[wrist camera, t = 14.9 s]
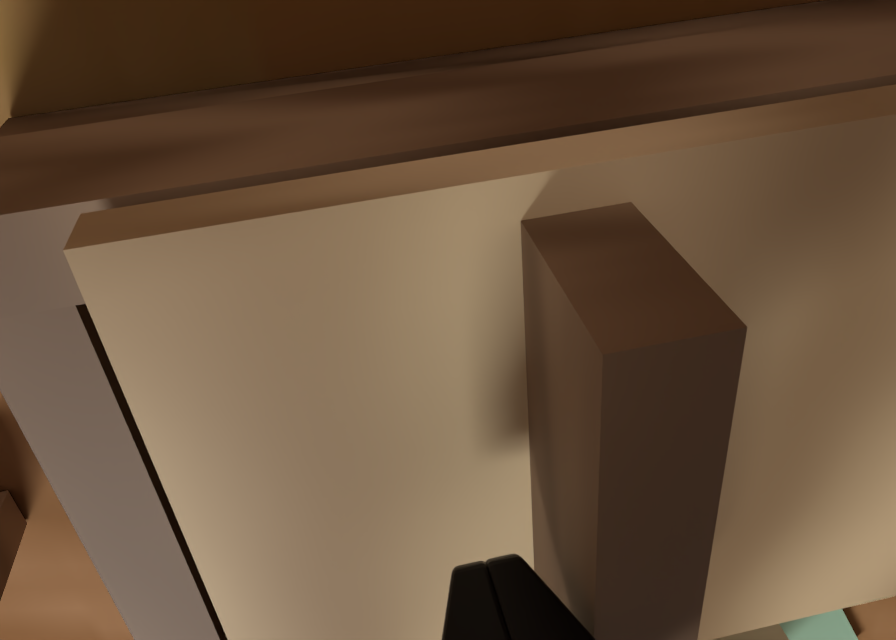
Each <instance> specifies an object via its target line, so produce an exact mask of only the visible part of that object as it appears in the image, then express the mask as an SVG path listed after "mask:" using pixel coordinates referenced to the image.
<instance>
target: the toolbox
mask: <svg viewBox="0 0 896 640" xmlns="http://www.w3.org/2000/svg"><path fill="white" fill-rule="evenodd" d="M895 84H896V0H825V1H818V2H812V3H805V4H798V5H791V6H784V7H777V8H770V9H763V10H756V11H749V12H742V13H735V14H728V15H721V16H714V17H708V18H701V19H694V20H687V21H680V22H673V23H666V24H659V25H652V26H645V27H638V28H631V29H624V30H617V31H611V32H604V33H597V34H590V35H583V36H576V37H569V38H562V39H555V40H548V41H541V42H534V43H527V44H520V45H514V46H507V47H500V48H493V49H486V50H479V51H472V52H465V53H458V54H451V55H444V56H437V57H430V58H423V59H416V60H410V61H403V62H396V63H389V64H382V65H375V66H368V67H361V68H354V69H347V70H340V71H333V72H326V73H319V74H313V75H306V76H299V77H292V78H285V79H278V80H271V81H264V82H257V83H250V84H243V85H236V86H229V87H222V88H216V89H209V90H202V91H195V92H188V93H181V94H174V95H167V96H160V97H153V98H146V99H139V100H132V101H125V102H119V103H112V104H105V105H98V106H91V107H84V108H77V109H70V110H63V111H56V112H49V113H42V114H35V115H28V116H21V117H15V118H8V120H7V121H6V122H5V123H4V124H3V125H2V126H1V128H0V391H1V393H2V395H3V397H4V399H5V401H6V402H7V404H8V406H9V408H10V410H11V412H12V414H13V415H14V417H15V419H16V421H17V423H18V425H19V427H20V428H21V430H22V432H23V434H24V436H25V438H26V440H27V441H28V443H29V445H30V447H31V449H32V451H33V453H34V454H35V456H36V458H37V460H38V462H39V464H40V466H41V467H42V469H43V471H44V473H45V475H46V477H47V479H48V480H49V482H50V484H51V486H52V488H53V490H54V492H55V493H56V495H57V497H58V499H59V501H60V503H61V504H62V506H63V508H64V510H65V512H66V514H67V516H68V517H69V519H70V521H71V523H72V525H73V527H74V529H75V530H76V532H77V534H78V536H79V538H80V540H81V542H82V543H83V545H84V547H85V549H86V551H87V553H88V555H89V556H90V558H91V560H92V562H93V564H94V566H95V568H96V569H97V571H98V573H99V575H100V577H101V579H102V581H103V582H104V584H105V586H106V588H107V590H108V592H109V594H110V595H111V597H112V599H113V601H114V603H115V605H116V607H117V608H118V610H119V612H120V614H121V616H122V618H123V620H124V621H125V623H126V625H127V627H128V629H129V631H130V633H131V634H132V636H133V638H134V640H228V639H227V637H226V634H225V632H224V630H223V627H222V625H221V623H220V620H219V618H218V616H217V613H216V611H215V608H214V606H213V604H212V601H211V599H210V597H209V594H208V592H207V590H206V587H205V585H204V582H203V580H202V578H201V575H200V573H199V571H198V568H197V566H196V564H195V561H194V559H193V556H192V554H191V552H190V549H189V547H188V545H187V542H186V540H185V538H184V535H183V533H182V530H181V528H180V526H179V523H178V521H177V519H176V516H175V514H174V512H173V509H172V507H171V504H170V502H169V500H168V497H167V495H166V493H165V490H164V488H163V486H162V483H161V481H160V478H159V476H158V474H157V471H156V469H155V467H154V464H153V462H152V459H151V457H150V455H149V452H148V450H147V448H146V445H145V443H144V441H143V438H142V436H141V433H140V431H139V429H138V426H137V424H136V422H135V419H134V417H133V415H132V412H131V410H130V407H129V405H128V403H127V400H126V398H125V396H124V393H123V391H122V389H121V386H120V384H119V381H118V379H117V377H116V374H115V372H114V370H113V367H112V365H111V363H110V360H109V358H108V355H107V353H106V351H105V348H104V346H103V344H102V341H101V339H100V337H99V334H98V332H97V329H96V327H95V325H94V322H93V320H92V318H91V315H90V313H89V311H88V308H87V306H86V303H85V301H84V299H83V296H82V294H81V292H80V289H79V287H78V285H77V282H76V280H75V277H74V275H73V273H72V270H71V268H70V266H69V263H68V261H67V259H66V256H65V254H64V251H63V249H64V247H65V245H66V243H67V241H68V239H69V237H70V234H71V232H72V230H73V228H74V226H75V224H76V222H77V220H78V218H79V216H80V214H82V213H88V212H94V211H101V210H107V209H113V208H120V207H126V206H132V205H139V204H145V203H151V202H157V201H164V200H170V199H176V198H183V197H189V196H195V195H202V194H208V193H214V192H220V191H227V190H233V189H239V188H246V187H252V186H258V185H265V184H271V183H277V182H283V181H290V180H296V179H302V178H309V177H315V176H321V175H328V174H334V173H340V172H346V171H353V170H359V169H365V168H372V167H378V166H384V165H391V164H397V163H403V162H409V161H416V160H422V159H428V158H435V157H441V156H447V155H454V154H460V153H466V152H472V151H479V150H485V149H491V148H498V147H504V146H510V145H517V144H523V143H529V142H535V141H542V140H548V139H554V138H561V137H567V136H573V135H580V134H586V133H592V132H598V131H605V130H611V129H617V128H624V127H630V126H636V125H643V124H649V123H655V122H661V121H668V120H674V119H680V118H687V117H693V116H699V115H706V114H712V113H718V112H724V111H731V110H737V109H743V108H750V107H756V106H762V105H769V104H775V103H781V102H787V101H794V100H800V99H806V98H813V97H819V96H825V95H832V94H838V93H844V92H850V91H857V90H863V89H869V88H876V87H882V86H888V85H895ZM26 525H27V522H26V521H25V519H24V517H23V515H22V514H21V512H20V510H19V509H18V507H17V505H16V504H15V502H14V500H13V498H12V497H11V495H10V493H9V492H8V490H7V491H2V492H0V600H1V597H2V594H3V591H4V588H5V586H6V583H7V580H8V577H9V574H10V571H11V568H12V565H13V562H14V559H15V557H16V554H17V551H18V548H19V545H20V542H21V539H22V536H23V533H24V530H25V528H26Z"/></svg>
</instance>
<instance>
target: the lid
mask: <svg viewBox="0 0 896 640" xmlns="http://www.w3.org/2000/svg"><path fill="white" fill-rule="evenodd" d="M63 251H64V254H65V256H66V259H67V261H68V263H69V266H70V268H71V270H72V273H73V275H74V277H75V280H76V282H77V285H78V287H79V289H80V292H81V294H82V296H83V299H84V301H85V303H86V306H87V308H88V311H89V313H90V315H91V318H92V320H93V322H94V325H95V327H96V329H97V332H98V334H99V337H100V339H101V341H102V344H103V346H104V348H105V351H106V353H107V355H108V358H109V360H110V363H111V365H112V367H113V370H114V372H115V374H116V377H117V379H118V381H119V384H120V386H121V389H122V391H123V393H124V396H125V398H126V400H127V403H128V405H129V407H130V410H131V412H132V415H133V417H134V419H135V422H136V424H137V426H138V429H139V431H140V433H141V436H142V438H143V441H144V443H145V445H146V448H147V450H148V452H149V455H150V457H151V459H152V462H153V464H154V467H155V469H156V471H157V474H158V476H159V478H160V481H161V483H162V486H163V488H164V490H165V493H166V495H167V497H168V500H169V502H170V504H171V507H172V509H173V512H174V514H175V516H176V519H177V521H178V523H179V526H180V528H181V530H182V533H183V535H184V538H185V540H186V542H187V545H188V547H189V549H190V552H191V554H192V556H193V559H194V561H195V564H196V566H197V568H198V571H199V573H200V575H201V578H202V580H203V582H204V585H205V587H206V590H207V592H208V594H209V597H210V599H211V601H212V604H213V606H214V608H215V611H216V613H217V616H218V618H219V620H220V623H221V625H222V627H223V630H224V632H225V634H226V637H227V639H228V640H442V634H443V627H444V620H445V613H446V607H447V600H448V593H449V586H450V580H451V574H452V570H453V569H454V568H455V567H456V566H458V565H463V564H467V563H472V562H476V561H484V562H486V560H488V559H490V558H494V557H499V556H503V555H508V554H518V555H519V556H521V557H522V558H523V559H524V560H525V561H526V562H527V563H528V564H529V566H530V567H531V568H532V569H533V570H534V571H535V572H536V573H537V574H538V576H539V577H540V578H541V579H542V580H543V581H544V582H545V583H546V584H547V586H548V587H549V588H550V589H551V590H552V591H553V592H554V593H555V594H556V596H557V597H558V598H559V599H560V600H561V601H562V602H563V603H564V605H565V606H566V607H567V608H568V609H569V610H570V611H571V612H572V613H573V615H574V616H575V617H576V618H577V619H578V620H579V621H580V622H581V623H582V625H583V626H584V627H585V628H586V629H587V630H588V631H589V632H590V633H591V635H592V636H593V637H594V638H595V639H596V640H712V639H716V638H721V637H725V636H729V635H733V634H737V633H742V632H746V631H750V630H754V629H759V628H763V627H767V626H771V625H775V624H780V623H784V622H788V621H792V620H796V619H801V618H805V617H809V616H813V615H818V614H822V613H826V612H830V611H834V610H839V609H843V608H847V607H851V606H855V605H860V604H864V603H868V602H872V601H877V600H881V599H885V598H889V597H893V596H896V84H895V85H888V86H882V87H876V88H869V89H863V90H857V91H850V92H844V93H838V94H832V95H825V96H819V97H813V98H806V99H800V100H794V101H787V102H781V103H775V104H769V105H762V106H756V107H750V108H743V109H737V110H731V111H724V112H718V113H712V114H706V115H699V116H693V117H687V118H680V119H674V120H668V121H661V122H655V123H649V124H643V125H636V126H630V127H624V128H617V129H611V130H605V131H598V132H592V133H586V134H580V135H573V136H567V137H561V138H554V139H548V140H542V141H535V142H529V143H523V144H517V145H510V146H504V147H498V148H491V149H485V150H479V151H472V152H466V153H460V154H454V155H447V156H441V157H435V158H428V159H422V160H416V161H409V162H403V163H397V164H391V165H384V166H378V167H372V168H365V169H359V170H353V171H346V172H340V173H334V174H328V175H321V176H315V177H309V178H302V179H296V180H290V181H283V182H277V183H271V184H265V185H258V186H252V187H246V188H239V189H233V190H227V191H220V192H214V193H208V194H202V195H195V196H189V197H183V198H176V199H170V200H164V201H157V202H151V203H145V204H139V205H132V206H126V207H120V208H113V209H107V210H101V211H94V212H88V213H82V214H80V216H79V218H78V220H77V222H76V224H75V226H74V228H73V230H72V232H71V234H70V237H69V239H68V241H67V243H66V245H65V247H64V249H63Z"/></svg>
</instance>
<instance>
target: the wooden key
mask: <svg viewBox="0 0 896 640" xmlns="http://www.w3.org/2000/svg"><path fill="white" fill-rule="evenodd" d="M712 640H789V639H788V637H787V636H786V634H785V633H784V631H783V629H782V628H781V626H780V625H779V624H775V625H771V626H767V627H763V628H759V629H754V630H750V631H746V632H742V633H737V634H733V635H729V636H725V637H721V638H716V639H712Z"/></svg>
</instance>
